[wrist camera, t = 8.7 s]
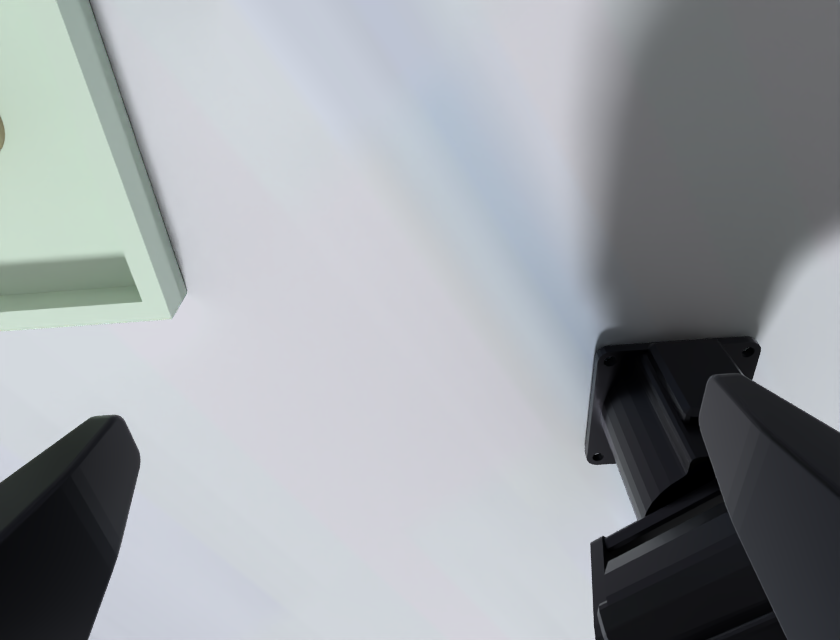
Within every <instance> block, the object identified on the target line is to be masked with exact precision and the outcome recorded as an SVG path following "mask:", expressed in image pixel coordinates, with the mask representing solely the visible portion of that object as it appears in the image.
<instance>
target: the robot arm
mask: <svg viewBox="0 0 840 640" xmlns="http://www.w3.org/2000/svg"><path fill="white" fill-rule="evenodd" d="M748 347H749V348H748ZM745 348H748V349H747V350H746V351H743V350H744V349H745ZM760 352H761V347H760V345H759V344H758V343H757V341H756V340H755V339H754V338H752V337H748V336H744V337H729V338H712V339H697V340H682V341H668V342H656V343H642V344H627V345H612V346H605V347H603V348H601V349H599V350H598V351H597V353H596V355H595V362H594V371H593V380H592V390H591V399H590V408H589V417H588V427H587V436H586V445H585V455H586V458H587V461H588V462H589V463H591V464H594V465H601V464H617V467H618V469H619V472H620V475H621V477H622V480H623V483H624V485H625V488H626V491H627V494H628V496H629V499H630V502H631V504H632V507H633V510H634V512H635V515H636V518H637V521H636V522H634V523H632V524H630V525H628V526H626V527H624V528H623V529H621V530H619V531H617V532H615V533H613V534H611V535H610V536H608V537H604V536H602V537H600V538H598V539H597V540H595V541H593V542H591V544H590V545H591V568H592V590H593V613H594V629H595V639H596V640H840V432H838V431H837V430H835V429H833V428H832V427H830V426H828V425H827V424H825V423H823V422H822V421H820V420H818V419H816V418H815V417H813V416H811V415H810V414H808V413H806V412H805V411H803V410H801V409H800V408H798V407H796V406H794V405H793V404H791V403H789V402H788V401H786V400H784V399H783V398H781V397H779V396H778V395H776V394H774V393H772V392H771V391H769V390H767V389H766V388H764V387H762V386H761V385H759V384H757V383H756V382H754V381H752V379H753V376H754V372H755V369H756V366H757V362H758V359H759V355H760ZM607 357H613V358H612V359H610V360H607V361H606V360H605V359H606V358H607ZM597 453H599V454H597ZM595 454H596V455H595ZM139 469H140V453H139V450H138V448H137V446H136V444H135V441H134V439H133V437H132V435H131V433H130V431H129V429H128V427H127V424H126V422H125V421H124V419H123V418H122V417H121V416H119V415H103V416H94V417H91V418H89V419H88V420H86V421H85V422H84V423H82V424H81V425H79V426H78V427H77V428H75V429H74V430H72V431H71V432H70V433H68V434H67V435H66V436H64V437H63V438H61V439H60V440H59V441H57V442H56V443H55V444H53V445H52V446H50V447H49V448H48V449H46V450H45V451H43V452H42V453H41V454H39V455H38V456H37V457H35V458H34V459H32V460H31V461H30V462H28V463H27V464H26V465H24V466H23V467H21V468H20V469H19V470H17V471H16V472H14V473H13V474H12V475H10V476H9V477H8V478H6V479H5V480H3V481H2V482H1V483H0V640H88V638H89V636H90V633H91V630H92V627H93V624H94V622H95V619H96V616H97V613H98V611H99V608H100V605H101V602H102V600H103V597H104V594H105V591H106V589H107V586H108V583H109V580H110V578H111V575H112V572H113V569H114V566H115V563H116V560H117V557H118V553H119V550H120V546H121V543H122V539H123V535H124V530H125V526H126V522H127V518H128V514H129V510H130V506H131V502H132V497H133V493H134V489H135V485H136V481H137V477H138V473H139Z"/></svg>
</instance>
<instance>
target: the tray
mask: <svg viewBox="0 0 840 640" xmlns="http://www.w3.org/2000/svg"><path fill="white" fill-rule="evenodd" d="M0 117H1V119H2V121H3V125H4V129H5V141H4V145H3V147H2V149H1V151H0V331H14V330H28V329H42V328H56V327H70V326H85V325H99V324H113V323H127V322H141V321H155V320H169V319H172V318H173V317H174V315H175V313H176V311H177V310H178V308H179V306H180V305H181V303H182V301H183V299H184V298H185V296H186V294H187V291H186V288H185V285H184V282H183V279H182V276H181V273H180V270H179V267H178V264H177V261H176V258H175V255H174V252H173V249H172V246H171V243H170V240H169V237H168V234H167V231H166V228H165V226H164V223H163V220H162V217H161V214H160V211H159V208H158V205H157V202H156V199H155V196H154V193H153V190H152V187H151V184H150V181H149V178H148V175H147V172H146V169H145V166H144V163H143V160H142V157H141V154H140V151H139V148H138V145H137V142H136V140H135V137H134V134H133V131H132V128H131V125H130V122H129V119H128V116H127V113H126V110H125V107H124V104H123V101H122V98H121V95H120V92H119V89H118V86H117V83H116V80H115V77H114V74H113V71H112V68H111V65H110V62H109V59H108V56H107V54H106V51H105V48H104V45H103V42H102V39H101V36H100V33H99V30H98V27H97V24H96V21H95V18H94V15H93V12H92V9H91V6H90V3H89V0H0Z"/></svg>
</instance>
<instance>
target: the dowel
mask: <svg viewBox="0 0 840 640" xmlns="http://www.w3.org/2000/svg"><path fill="white" fill-rule="evenodd" d="M4 141H5V129H4V125H3V121H2V119H1V117H0V151H1V149H2V147H3V145H4Z"/></svg>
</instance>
